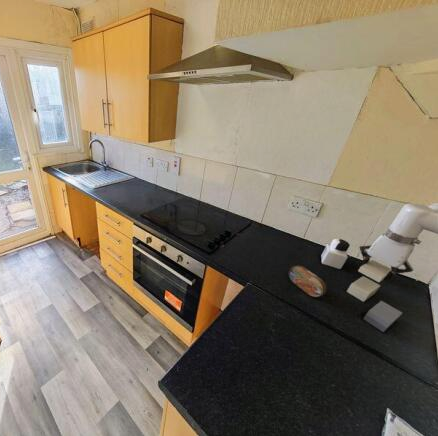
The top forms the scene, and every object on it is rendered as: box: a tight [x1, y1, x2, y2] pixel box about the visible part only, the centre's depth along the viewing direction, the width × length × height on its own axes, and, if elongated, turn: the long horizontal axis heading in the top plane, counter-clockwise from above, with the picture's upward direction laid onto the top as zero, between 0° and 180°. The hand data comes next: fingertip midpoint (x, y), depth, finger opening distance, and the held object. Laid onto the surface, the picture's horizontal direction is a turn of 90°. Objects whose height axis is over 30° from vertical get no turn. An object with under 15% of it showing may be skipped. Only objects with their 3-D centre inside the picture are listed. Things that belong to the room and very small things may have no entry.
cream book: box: [357, 259, 391, 283], centre depth 91 cm, size 7×10×2 cm
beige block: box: [346, 276, 381, 303], centre depth 96 cm, size 6×10×5 cm, turn 118°
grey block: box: [362, 300, 403, 333], centre depth 84 cm, size 6×10×5 cm, turn 118°
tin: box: [288, 265, 327, 298], centre depth 97 cm, size 15×3×8 cm, turn 21°
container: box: [320, 238, 351, 270], centre depth 111 cm, size 8×8×13 cm
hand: (374, 272), depth 92 cm, fingers closed on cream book, 7 cm apart
